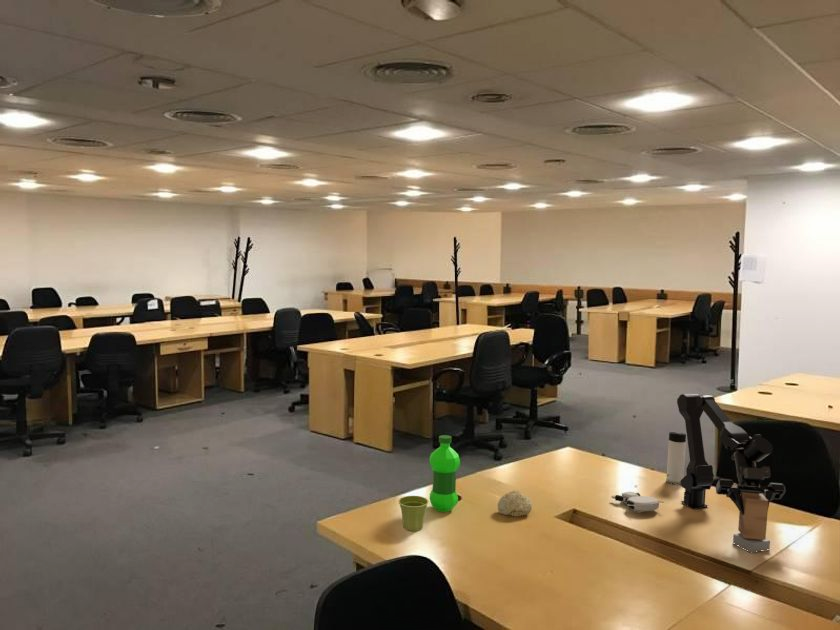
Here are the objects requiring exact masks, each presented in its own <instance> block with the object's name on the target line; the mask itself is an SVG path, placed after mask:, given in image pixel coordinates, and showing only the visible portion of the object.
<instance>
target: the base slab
mask: <svg viewBox="0 0 840 630" xmlns="http://www.w3.org/2000/svg"><path fill="white" fill-rule="evenodd" d="M732 538H733V541H732V544H733V543H735V544H736V545H735V544H734V545H735V546H737V545H739V546H740V547H742V548H744V549H746V550H748V551H750V552H756V551H761V550H767V549H769V550H770V548H771V547H770V546H771V540H770V539H768V538H766V539H765V540H761V539H750V538H744V537H743V536H742V534H741V533H740V532H738V533H733V537H732ZM739 546H738V547H739ZM740 547H739V548H740ZM742 548H741V549H742ZM744 549H743V550H744ZM746 550H745V551H746ZM748 551H747V552H748ZM750 552H749V553H750ZM756 553H757V552H756Z"/></svg>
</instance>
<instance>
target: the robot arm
mask: <svg viewBox="0 0 840 630" xmlns="http://www.w3.org/2000/svg"><path fill="white" fill-rule="evenodd" d="M715 399H716V398H715V396H713V395H711V394H705V395H704V394H703V395H702V394H698V393H682V394H680V395H679V396H678V397H677V400H676V405H677V409H678V412H679V414H680V415H681V417H682V418H683V419H684V421H685V431H686V441H687V447H688V455H689V456H688V457H689V462H688V464H687V466H686V468H685V469H686V470H685V472H686V475H684V478H683V479H682V480H681V481H680V482H681V485H680V487H681V488H683V489H684V493H683V500H680V503H681V502H682V504H683V503H684V504H683V505H686V506H687V505H688V506H687V507H689V506H690V507H689V508H691V509H693V508H697V509H702V508H701V507H705V508H708V507H709V505H707V504H706V490H711V488H712V485H713V483H714V478H715V475H714V470H713V469H714V468H713V465H712V464H709V463H708V462H707V460H706V458H705V457H706V456H705V449H704V448H705V447H704V441H703V432H702V426H701V425H702V423H701V417H702V415H703V413H705V414H706V416H707V417H708V418H709V420H710V421H711V422H712V424H713V426H715V427H716V429H717V430H718V432H719V439H720V441H721V443H722V444H723V446H724V447H725V448H726V449H727V450H736V451H734V453H733V454H732V455H731V457H730V459H731V460H732V461H734V462H735V468H736V469H735V470H736V478H737V479H738V481H737V482H738V483H736V482H734V480H733V479H731V478H719V479H718V481H717V483H716V485H715V494H716V495H724V496H726V498H729V499H730V500H731V501H732V502H733V504H734V505H735V507H736V508H737V509H738V511H739V512H741V514H742V515H744V507H743V503H742V499H741V492H747V493H759V494H763V495H764V496H765V498H766V499H767V500H768V508H769V506H770V502H771V501H773V500H782V498H783V496H784V495H785V493H787V490H786V485H784V483H781V482H780V483H779V482H769V484H768V485H767V486H766V485H761V484H762V483H763V480H765V478H766V479H768V478H771V469H770V466H761V467H759V468H758V467H757V463H759V462H760V461H762V460H763V459H765V458H766V457H767V456H769V455H771V454H772V453H773V450H774V448H773V445H772V443H771V442H770V441H769V440H767V439H766V438H764V437H762V434H760V433H759V434H754V435H753V436H752V437H751V436H750V435H749V433H748V432H746V431H745V430H744V428H742V427H741V426H739V425H737V424H735V423H733V422H732V420H731V419H730V418H729V417H728V415H727V414H726V413H725V411H723V409H722V408H721V407H720V405H719V404H718V403H717V402H716V400H715ZM707 506H708V507H707Z"/></svg>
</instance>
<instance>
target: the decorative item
mask: <svg viewBox="0 0 840 630" xmlns="http://www.w3.org/2000/svg"><path fill="white" fill-rule="evenodd" d="M532 508H533V502H532V500H531V499H530V498H528V497H527V496H525V495H524V494H523V493H522V492H521V491H519V489H517V490H512V491H508V492H507V493H505V494H503V495H502V496H501V497H500V498H499V500H498V502H497V511H498V513H500V515H501V514H502V515H504V516H505V515H506V516H512V517H522V516H523V515H524V516H526V515H527V516H528V515H529V514H530V513H531V511H532ZM521 515H522V516H521ZM524 516H523V517H524Z"/></svg>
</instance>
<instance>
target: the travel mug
mask: <svg viewBox="0 0 840 630" xmlns="http://www.w3.org/2000/svg"><path fill="white" fill-rule="evenodd" d="M667 445H668V446H667V461H666V478H665V479H666V480H665V482H667V483H668V482H669V483H668V484H670V483H673V484H672V485H674V484H681V482H680V481H681V480H682V479H683V478H684V477H685V462H686V445H687V433H683V432H681V433H679V432H673V431H669V433H668V444H667Z"/></svg>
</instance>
